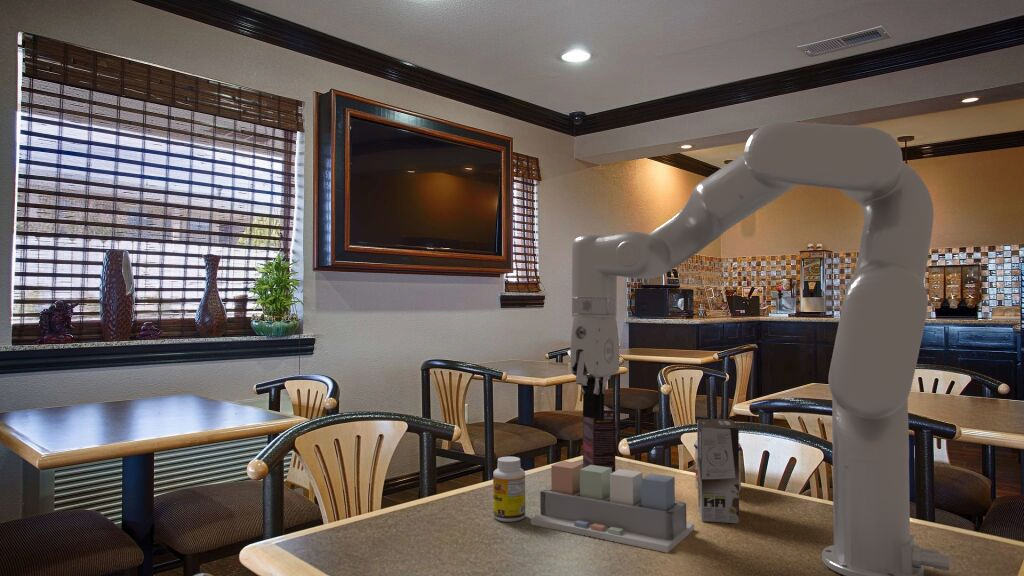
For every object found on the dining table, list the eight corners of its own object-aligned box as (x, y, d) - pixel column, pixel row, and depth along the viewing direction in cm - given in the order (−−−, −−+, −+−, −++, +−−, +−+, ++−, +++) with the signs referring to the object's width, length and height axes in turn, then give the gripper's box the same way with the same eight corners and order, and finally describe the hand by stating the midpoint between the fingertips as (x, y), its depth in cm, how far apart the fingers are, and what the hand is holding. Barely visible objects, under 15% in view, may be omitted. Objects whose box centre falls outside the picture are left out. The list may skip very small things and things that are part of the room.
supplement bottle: (489, 514, 120) (489, 456, 120) (519, 511, 121) (519, 454, 122) (498, 524, 114) (498, 463, 115) (529, 521, 116) (529, 461, 116)
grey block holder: (694, 529, 111) (693, 499, 111) (667, 552, 101) (667, 519, 101) (565, 506, 124) (565, 478, 125) (530, 524, 114) (530, 494, 114)
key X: (642, 502, 112) (642, 472, 112) (632, 508, 109) (632, 477, 109) (620, 498, 114) (619, 468, 114) (610, 504, 111) (609, 474, 111)
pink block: (583, 492, 118) (582, 463, 118) (572, 498, 115) (571, 468, 115) (562, 489, 120) (562, 460, 120) (551, 494, 117) (551, 465, 117)
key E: (612, 497, 115) (611, 467, 115) (601, 503, 112) (601, 472, 112) (590, 493, 117) (590, 464, 117) (580, 499, 114) (579, 469, 114)
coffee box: (740, 524, 114) (739, 427, 114) (701, 522, 115) (700, 426, 116) (734, 508, 123) (733, 418, 123) (697, 506, 124) (696, 417, 124)
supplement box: (617, 490, 134) (616, 410, 135) (593, 491, 134) (592, 411, 134) (604, 479, 143) (603, 403, 143) (582, 480, 142) (581, 404, 143)
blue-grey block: (674, 508, 109) (674, 476, 109) (665, 514, 106) (665, 482, 106) (651, 504, 111) (650, 473, 111) (641, 510, 108) (641, 478, 108)
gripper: (594, 309, 107) (593, 426, 107) (632, 308, 119) (632, 413, 119) (552, 308, 111) (552, 421, 111) (593, 307, 123) (593, 409, 123)
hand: (593, 416), depth 115 cm, fingers closed
